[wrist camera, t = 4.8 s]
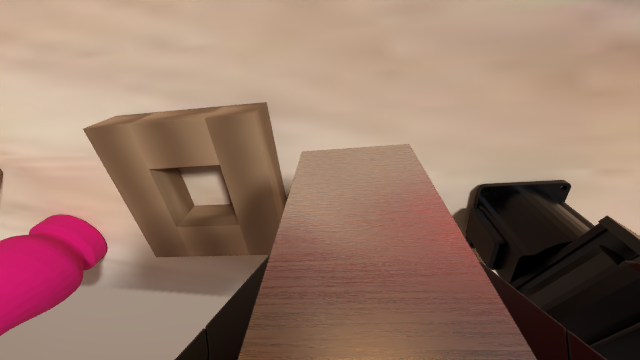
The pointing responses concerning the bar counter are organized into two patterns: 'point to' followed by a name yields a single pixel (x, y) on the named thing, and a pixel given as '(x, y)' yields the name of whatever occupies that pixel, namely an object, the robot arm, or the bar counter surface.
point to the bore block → (196, 150)
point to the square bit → (374, 270)
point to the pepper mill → (45, 267)
